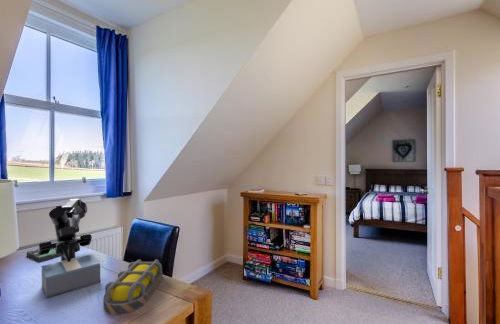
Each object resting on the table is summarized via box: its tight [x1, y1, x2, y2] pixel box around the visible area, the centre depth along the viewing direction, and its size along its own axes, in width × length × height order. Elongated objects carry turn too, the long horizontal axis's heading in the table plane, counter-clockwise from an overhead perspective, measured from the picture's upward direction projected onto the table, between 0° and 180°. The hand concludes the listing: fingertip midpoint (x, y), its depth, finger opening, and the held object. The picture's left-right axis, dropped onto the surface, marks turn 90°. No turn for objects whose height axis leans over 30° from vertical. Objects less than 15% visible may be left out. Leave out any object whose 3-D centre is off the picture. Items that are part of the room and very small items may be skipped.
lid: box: [40, 254, 101, 280], centre depth 109 cm, size 13×18×1 cm
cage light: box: [102, 258, 163, 315], centre depth 104 cm, size 15×8×30 cm
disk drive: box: [26, 248, 61, 263], centre depth 139 cm, size 10×3×15 cm
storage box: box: [41, 265, 101, 299], centre depth 109 cm, size 13×18×7 cm
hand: (69, 261), depth 111 cm, fingers closed, pressing on lid
